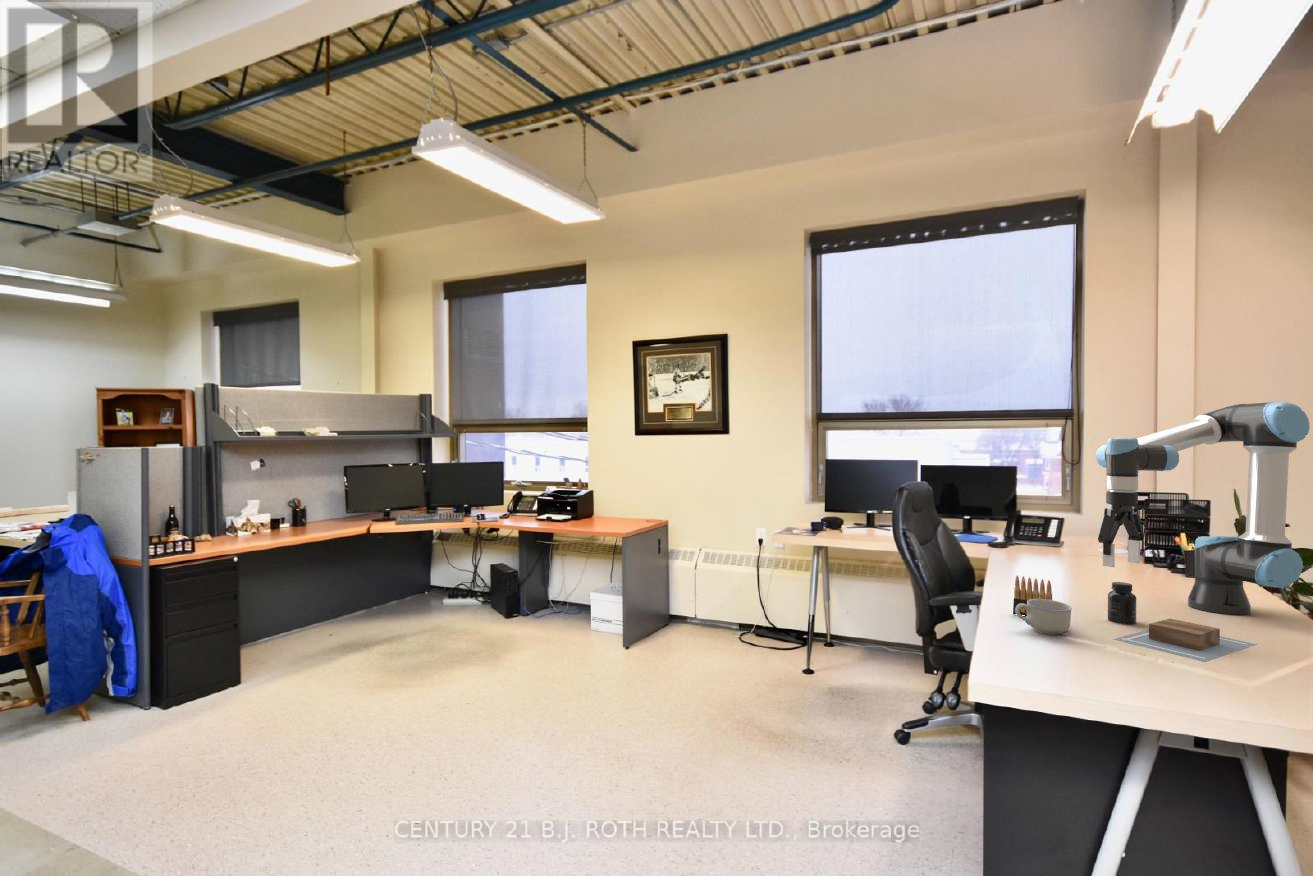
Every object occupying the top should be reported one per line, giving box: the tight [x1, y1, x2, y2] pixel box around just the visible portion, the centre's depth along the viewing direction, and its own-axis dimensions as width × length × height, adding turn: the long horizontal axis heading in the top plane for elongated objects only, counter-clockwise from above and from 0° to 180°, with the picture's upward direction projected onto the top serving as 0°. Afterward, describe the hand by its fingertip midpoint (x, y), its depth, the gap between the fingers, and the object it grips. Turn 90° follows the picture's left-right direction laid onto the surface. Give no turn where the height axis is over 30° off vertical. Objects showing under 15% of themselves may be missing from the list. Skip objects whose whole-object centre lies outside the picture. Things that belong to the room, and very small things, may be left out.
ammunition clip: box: [1012, 575, 1053, 616], centre depth 197 cm, size 11×2×12 cm, turn 41°
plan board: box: [1112, 629, 1257, 663], centre depth 170 cm, size 28×20×1 cm
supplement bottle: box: [1107, 581, 1137, 626], centre depth 190 cm, size 7×7×12 cm
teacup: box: [1015, 599, 1073, 636], centre depth 183 cm, size 14×11×8 cm
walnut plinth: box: [1148, 618, 1221, 651], centre depth 170 cm, size 11×11×4 cm
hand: (1121, 564), depth 190 cm, fingers open, 13 cm apart
